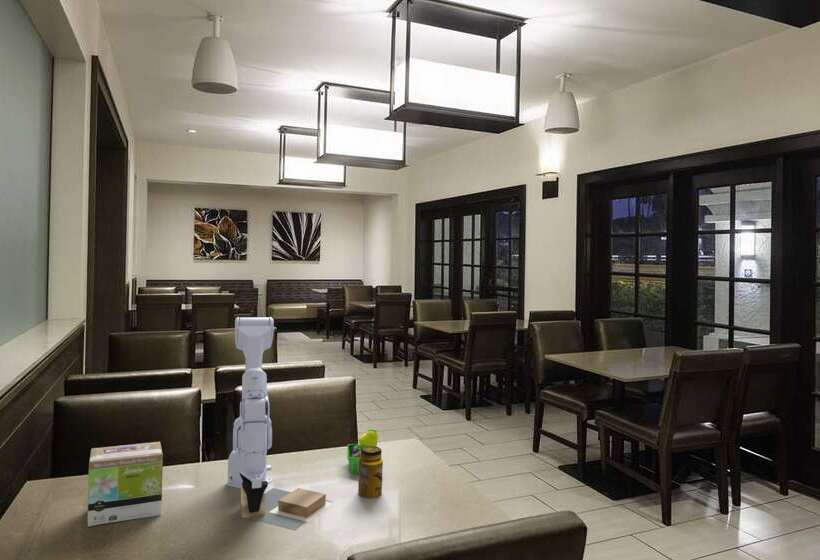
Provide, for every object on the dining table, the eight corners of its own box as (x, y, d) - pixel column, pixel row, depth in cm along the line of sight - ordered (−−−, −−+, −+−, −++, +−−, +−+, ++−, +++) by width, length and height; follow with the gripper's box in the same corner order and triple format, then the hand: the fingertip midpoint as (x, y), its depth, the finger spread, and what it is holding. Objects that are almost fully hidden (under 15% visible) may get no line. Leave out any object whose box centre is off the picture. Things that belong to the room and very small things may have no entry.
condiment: (388, 497, 142) (389, 450, 141) (358, 504, 137) (360, 456, 137) (374, 487, 148) (375, 442, 147) (345, 493, 143) (346, 447, 143)
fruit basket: (346, 460, 166) (347, 423, 166) (376, 460, 167) (377, 423, 167) (346, 475, 155) (347, 435, 155) (378, 475, 156) (379, 435, 156)
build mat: (230, 514, 130) (230, 513, 130) (273, 489, 144) (273, 487, 144) (296, 532, 122) (296, 530, 122) (335, 503, 137) (335, 502, 137)
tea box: (86, 529, 121) (87, 462, 121) (89, 510, 130) (89, 447, 130) (162, 516, 128) (163, 452, 128) (159, 498, 137) (160, 439, 137)
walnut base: (278, 510, 132) (278, 500, 132) (298, 497, 139) (298, 487, 139) (306, 517, 128) (307, 507, 128) (325, 504, 136) (325, 494, 136)
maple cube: (242, 517, 128) (242, 496, 127) (240, 508, 132) (241, 487, 132) (265, 514, 130) (265, 493, 129) (262, 505, 134) (262, 485, 134)
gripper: (275, 458, 125) (274, 517, 126) (267, 438, 139) (266, 491, 139) (242, 461, 122) (241, 522, 123) (237, 440, 136) (236, 495, 137)
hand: (252, 506), depth 131 cm, fingers closed on maple cube, 5 cm apart
